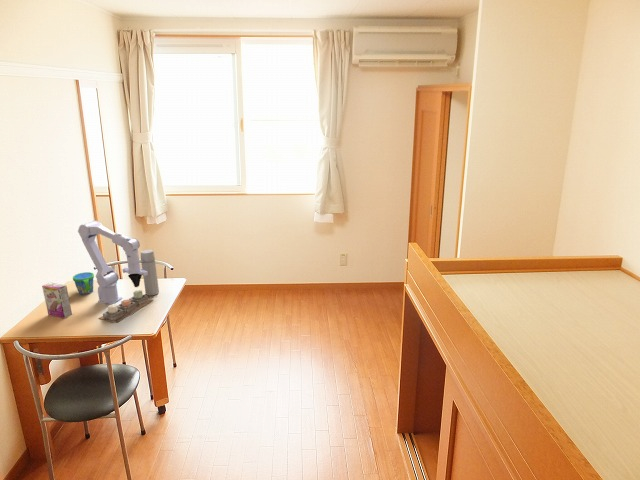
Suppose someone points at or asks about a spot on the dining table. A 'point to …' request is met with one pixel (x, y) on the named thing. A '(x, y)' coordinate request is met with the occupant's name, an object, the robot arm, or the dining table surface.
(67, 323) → the dining table surface
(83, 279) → the snack cup
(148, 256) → the water bottle
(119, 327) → the dining table surface
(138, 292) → the sage button
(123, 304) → the terracotta button
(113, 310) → the cream button
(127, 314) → the button board
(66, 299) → the candy bar box
